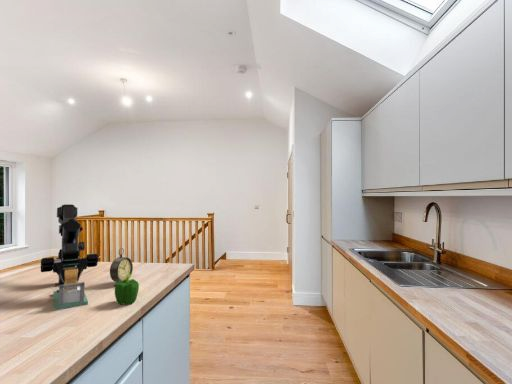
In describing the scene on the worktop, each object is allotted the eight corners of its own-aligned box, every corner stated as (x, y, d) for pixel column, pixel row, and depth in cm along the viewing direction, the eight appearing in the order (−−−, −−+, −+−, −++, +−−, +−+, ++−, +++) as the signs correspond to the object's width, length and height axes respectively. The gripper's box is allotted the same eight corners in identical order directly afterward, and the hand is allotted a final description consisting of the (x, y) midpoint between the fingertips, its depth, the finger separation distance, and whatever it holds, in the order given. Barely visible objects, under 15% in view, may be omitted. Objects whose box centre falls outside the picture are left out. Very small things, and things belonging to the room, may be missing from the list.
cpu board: (53, 294, 116) (54, 274, 116) (82, 290, 122) (83, 271, 122) (54, 310, 100) (55, 286, 100) (87, 304, 105) (88, 282, 106)
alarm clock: (117, 287, 126) (118, 250, 126) (106, 286, 127) (107, 249, 127) (133, 281, 136) (134, 246, 137) (123, 280, 138) (124, 245, 138)
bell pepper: (127, 308, 103) (128, 279, 103) (109, 305, 105) (110, 277, 106) (143, 300, 111) (144, 274, 111) (126, 297, 113) (127, 272, 114)
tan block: (63, 296, 109) (64, 268, 109) (76, 294, 111) (77, 267, 112) (65, 305, 101) (66, 274, 101) (78, 302, 103) (79, 273, 103)
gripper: (41, 236, 107) (40, 272, 98) (98, 233, 118) (101, 266, 109) (41, 254, 114) (39, 290, 104) (95, 250, 124) (98, 282, 115)
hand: (71, 281), depth 108 cm, fingers closed on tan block, 4 cm apart
